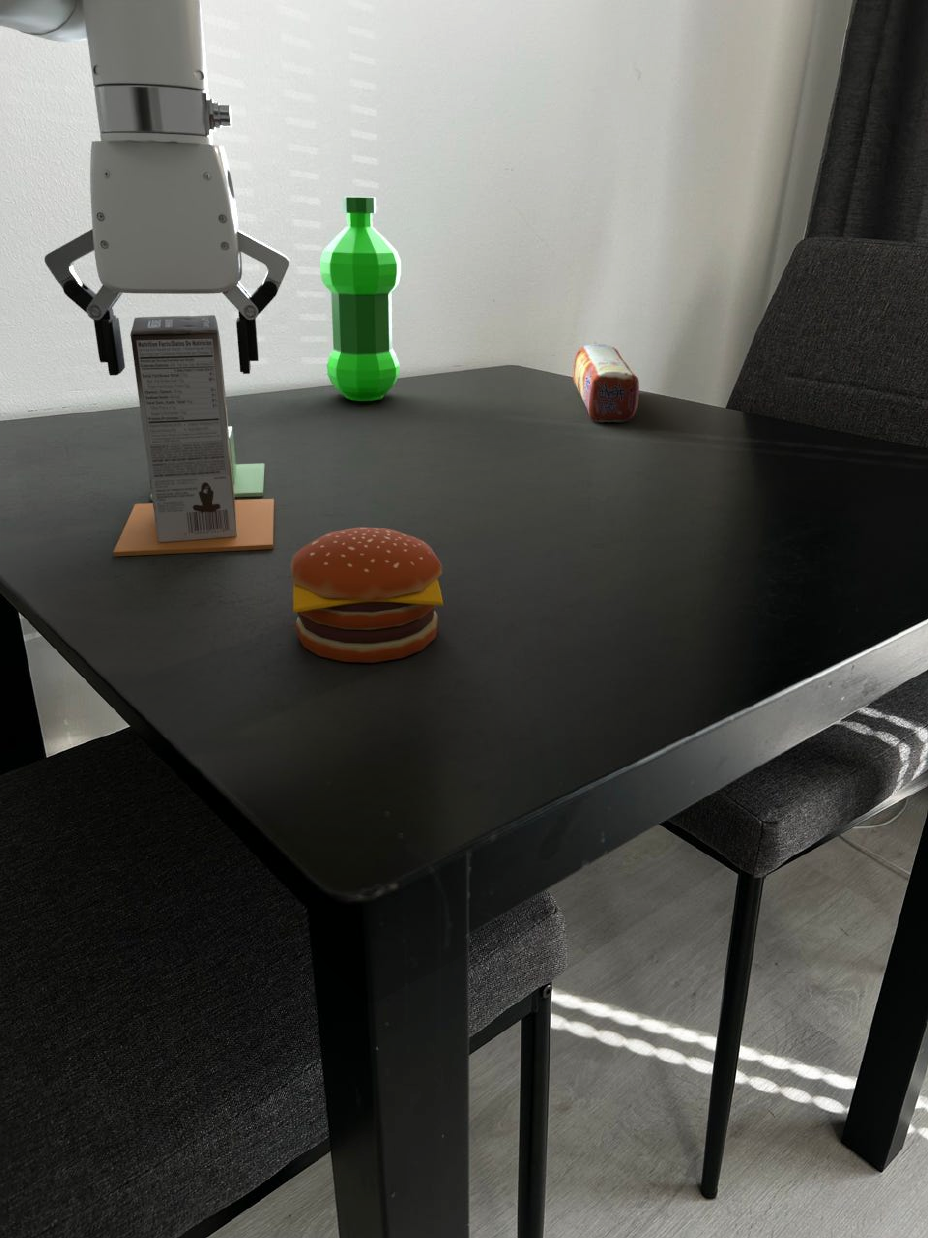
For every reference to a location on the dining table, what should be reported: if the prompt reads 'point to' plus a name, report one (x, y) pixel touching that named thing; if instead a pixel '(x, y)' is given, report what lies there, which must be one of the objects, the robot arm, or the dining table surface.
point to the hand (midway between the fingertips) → (182, 371)
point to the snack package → (605, 383)
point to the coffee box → (185, 426)
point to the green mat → (247, 480)
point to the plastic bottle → (361, 304)
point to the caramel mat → (251, 535)
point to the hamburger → (366, 595)
